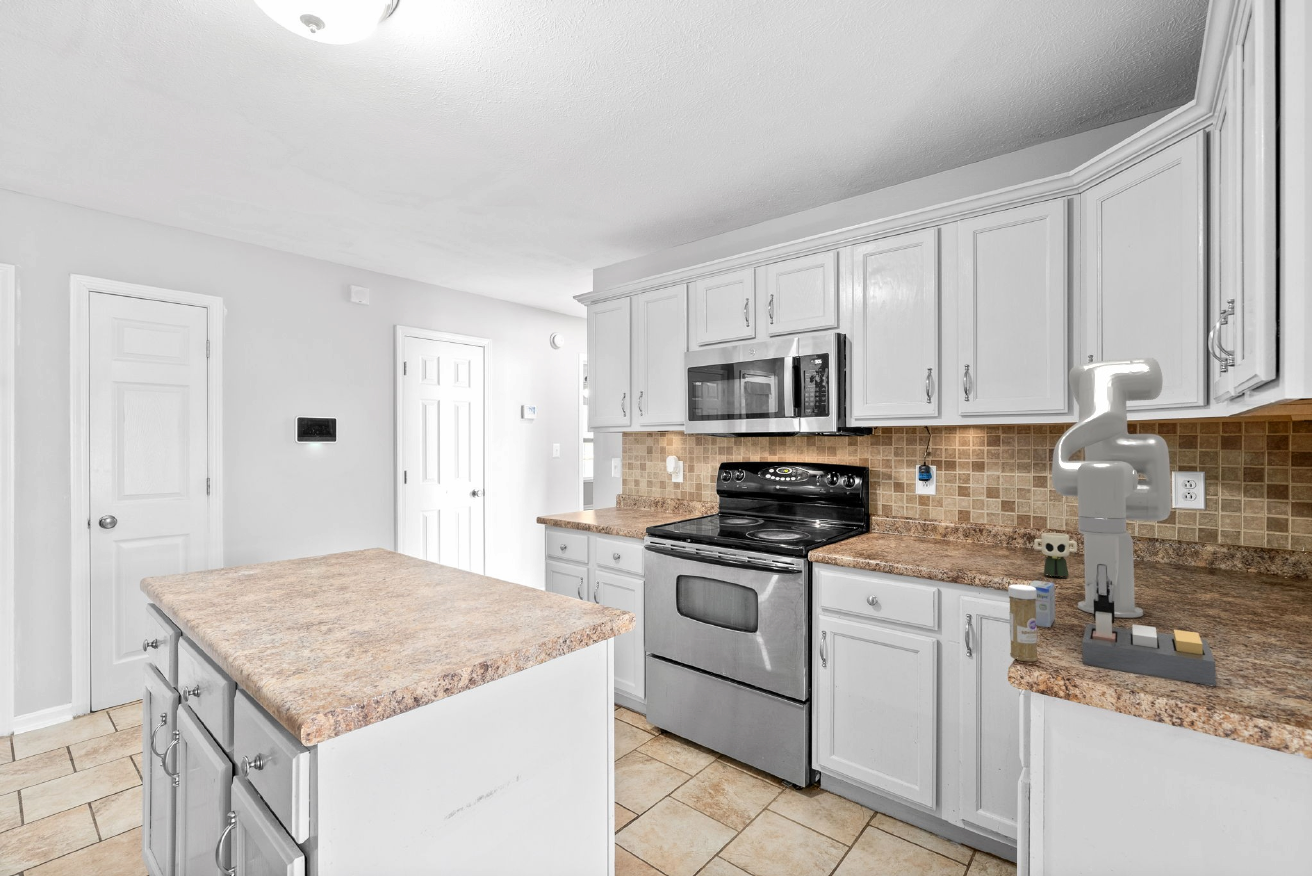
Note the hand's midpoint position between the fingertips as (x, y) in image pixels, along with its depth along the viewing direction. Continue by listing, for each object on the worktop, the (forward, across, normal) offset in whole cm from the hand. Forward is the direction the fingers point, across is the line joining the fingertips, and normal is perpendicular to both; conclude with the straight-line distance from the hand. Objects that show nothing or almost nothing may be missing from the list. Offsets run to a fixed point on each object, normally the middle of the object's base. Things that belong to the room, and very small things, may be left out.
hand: (1104, 621), depth 119 cm
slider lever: (+3, +3, 0) cm, 4 cm away
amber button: (+2, +3, +12) cm, 13 cm away
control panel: (+6, +3, +6) cm, 9 cm away
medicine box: (+6, -17, -12) cm, 21 cm away
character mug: (+6, -77, -14) cm, 78 cm away
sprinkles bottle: (+6, +13, -12) cm, 19 cm away
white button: (+2, +3, +6) cm, 7 cm away
